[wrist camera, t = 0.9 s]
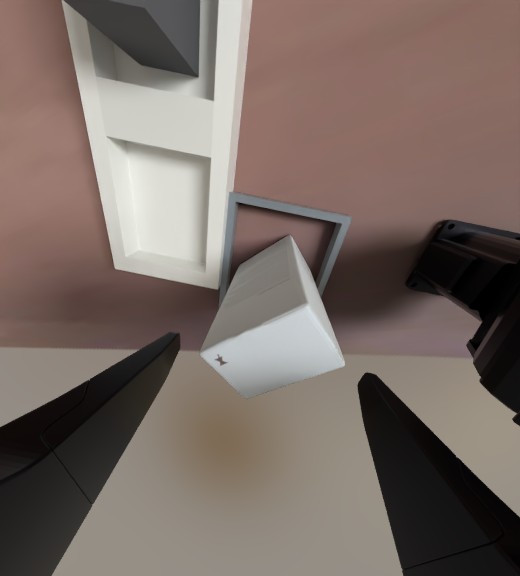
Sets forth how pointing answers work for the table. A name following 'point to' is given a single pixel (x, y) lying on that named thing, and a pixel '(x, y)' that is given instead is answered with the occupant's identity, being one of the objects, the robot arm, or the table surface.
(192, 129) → the divided desk organizer
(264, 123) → the table surface
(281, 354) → the skincare box
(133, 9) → the dark gray rectangular block
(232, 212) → the gray rectangular frame
